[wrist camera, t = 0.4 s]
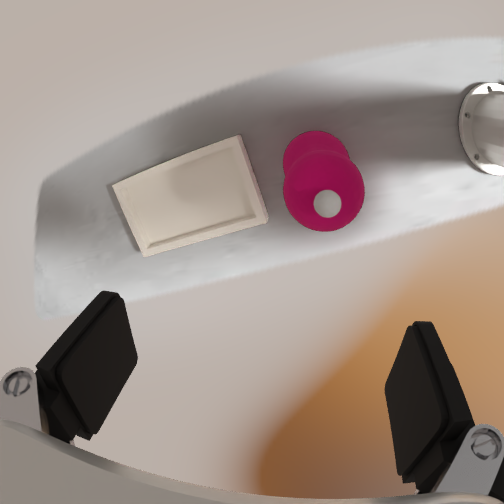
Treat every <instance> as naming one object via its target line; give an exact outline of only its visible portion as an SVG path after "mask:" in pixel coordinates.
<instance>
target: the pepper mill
mask: <svg viewBox="0 0 504 504" xmlns="http://www.w3.org/2000/svg"><path fill="white" fill-rule="evenodd" d="M283 168H284V173H285V176H286V177H285V179H284V186H283V194H284V199H285V203H286V206H287V208H288V210H289V212H290V213H291V215H292V216H293V217H294V218H295V219H296V220H297V221H298V222H299V223H300V224H302V225H303V226H305V227H307V228H309V229H312V230H315V231H322V232H325V231H334V230H337V229H340V228H342V227H344V226H346V225H347V224H349V223H350V222H351V221H352V220H353V219H354V218H355V217H356V216H357V214H358V213H359V211H360V209H361V207H362V205H363V201H364V194H365V190H364V183H363V179H362V176H361V174H360V172H359V170H358V168H357V167H356V165H355V164H354V163H352V162H351V161H350V159H349V155H348V153H347V150H346V149H345V147H344V145H343V144H342V143H341V142H340V141H339V140H338V139H337V138H336V137H334V136H333V135H331V134H329V133H326V132H322V131H309V132H305V133H303V134H301V135H299V136H297V137H296V138H294V139H293V140H292V141H291V142H290V144H289V145H288V147H287V149H286V150H285V153H284V158H283Z"/></svg>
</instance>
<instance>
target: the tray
mask: <svg viewBox="0 0 504 504" xmlns="http://www.w3.org/2000/svg"><path fill="white" fill-rule="evenodd" d="M112 187H113V189H114V191H115V194H116V196H117V199H118V201H119V203H120V206H121V208H122V210H123V213H124V215H125V217H126V219H127V222H128V224H129V226H130V228H131V231H132V233H133V235H134V237H135V239H136V242H137V244H138V246H139V248H140V250H141V252H142V254H143V256H144V257H147V256H151V255H154V254H158V253H161V252H165V251H168V250H172V249H175V248H179V247H182V246H186V245H189V244H193V243H196V242H200V241H203V240H207V239H210V238H214V237H218V236H221V235H225V234H228V233H232V232H236V231H239V230H243V229H247V228H250V227H254V226H258V225H262V224H265V223H267V221H268V217H269V215H268V213H267V210H266V207H265V204H264V201H263V198H262V195H261V192H260V189H259V186H258V183H257V180H256V177H255V174H254V172H253V169H252V166H251V163H250V160H249V157H248V154H247V152H246V149H245V146H244V143H243V140H242V137H241V135H240V134H239V135H236V136H233V137H230V138H227V139H224V140H222V141H219V142H216V143H213V144H210V145H208V146H205V147H202V148H199V149H197V150H194V151H192V152H189V153H186V154H184V155H181V156H179V157H176V158H174V159H171V160H169V161H166V162H164V163H161V164H159V165H156V166H154V167H152V168H149V169H147V170H145V171H142V172H140V173H138V174H135V175H133V176H131V177H129V178H126V179H124V180H122V181H120V182H118V183H116V184H114V185H112Z"/></svg>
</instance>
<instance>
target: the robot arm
mask: <svg viewBox="0 0 504 504" xmlns="http://www.w3.org/2000/svg"><path fill="white" fill-rule="evenodd" d="M465 114H466V116H465ZM459 132H460V138H461V141H462V145H463V147H464V149H465V152H466V154H467V155H468V157H469V158H470V160H471V161H472V162H473V163H474V164H475V165H476V166H477V167H478V168H479V169H481V170H482V171H484V172H486V173H488V174H491V175H495V176H503V175H504V86H503V85H501V84H498V83H482V84H480V85H477V86H476V87H474V88H473V89H471V90H470V92H469V93H468V94H467V95H466V97H465V99H464V101H463V103H462V106H461V109H460V115H459ZM474 155H475V157H474ZM137 359H138V356H137V352H136V348H135V344H134V340H133V337H132V333H131V329H130V324H129V320H128V316H127V312H126V308H125V303H124V300H123V298H120V295H119V294H118V293H115V292H109V291H101V292H100V293H99V294H98V295H97V296H96V297H95V298H94V300H93V301H92V302H91V303H90V304H89V305H88V306H87V307H86V308H85V309H84V310H83V312H82V313H81V314H80V315H79V316H78V317H77V318H76V319H75V320H74V322H73V323H72V324H71V325H70V326H69V327H68V328H67V330H66V331H65V332H64V333H63V334H62V335H61V336H60V337H59V339H58V340H57V341H56V342H55V343H54V345H53V346H52V347H51V348H50V349H49V350H48V352H47V353H46V354H45V355H44V356H43V358H42V359H41V360H40V361H39V362H38V363H37V365H36V367H37V371H36V372H35V373H34V372H33V371H32V370H31V369H29V368H24V367H20V368H16V369H13V370H11V371H9V372H8V373H6V374H5V376H4V377H3V378H2V380H1V382H0V504H504V437H503V435H502V434H501V432H500V431H499V430H498V429H496V428H495V427H493V426H491V425H488V424H479V425H476V426H475V424H474V421H473V418H472V415H471V412H470V409H469V406H468V404H467V401H466V398H465V396H464V393H463V390H462V388H461V386H460V383H459V380H458V378H457V376H456V373H455V370H454V368H453V366H452V364H451V363H450V361H449V359H448V356H447V354H446V352H445V349H444V347H443V345H442V343H441V340H440V338H439V336H438V334H437V332H436V330H435V327H434V325H433V324H432V322H425V321H415V322H414V323H413V325H412V326H408V328H407V330H406V333H405V335H404V338H403V341H402V344H401V346H400V349H399V351H398V354H397V357H396V359H395V362H394V364H393V367H392V369H391V372H390V374H389V376H388V379H387V381H386V384H385V396H386V401H387V407H388V413H389V419H390V424H391V431H392V438H393V444H394V451H395V459H396V467H397V473H398V475H400V476H401V475H402V480H403V483H411V482H415V484H416V489H417V491H416V492H415V493H414V495H406V496H396V497H384V498H365V499H301V498H286V497H273V496H263V495H255V494H247V493H240V492H233V491H227V490H221V489H215V488H210V487H205V486H199V485H195V484H191V483H186V482H181V481H178V480H174V479H170V478H166V477H162V476H158V475H155V474H151V473H148V472H145V471H141V470H138V469H135V468H131V467H129V466H126V465H122V464H119V463H117V462H114V461H111V460H108V459H106V458H103V457H100V456H97V455H95V454H93V453H90V452H88V451H85V450H83V449H80V448H77V447H75V444H74V440H73V439H74V437H75V435H77V436H79V437H82V438H84V439H87V440H90V439H91V437H92V435H93V434H97V433H98V431H99V430H100V428H101V426H102V424H103V422H104V420H105V419H106V417H107V415H108V413H109V412H110V410H111V408H112V406H113V404H114V403H115V401H116V399H117V397H118V396H119V394H120V392H121V390H122V388H123V386H124V385H125V383H126V381H127V380H128V378H129V376H130V375H131V373H132V371H133V369H134V368H135V366H136V364H137Z"/></svg>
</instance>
